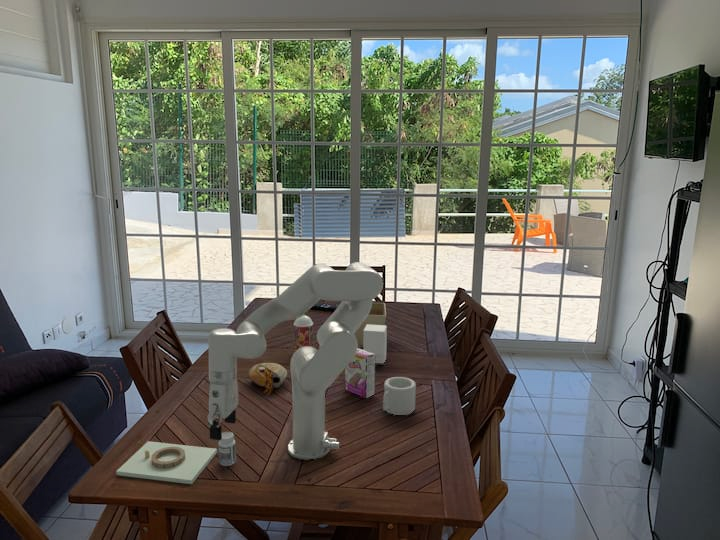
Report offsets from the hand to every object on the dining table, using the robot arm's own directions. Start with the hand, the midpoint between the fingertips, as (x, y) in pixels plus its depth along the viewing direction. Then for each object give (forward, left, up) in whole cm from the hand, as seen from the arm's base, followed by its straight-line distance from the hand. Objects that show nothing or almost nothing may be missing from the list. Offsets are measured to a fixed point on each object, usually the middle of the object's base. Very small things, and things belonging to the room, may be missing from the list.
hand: (223, 430), depth 155 cm
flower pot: (-23, -105, -10) cm, 108 cm away
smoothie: (+1, -87, -10) cm, 88 cm away
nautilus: (+5, -51, -10) cm, 52 cm away
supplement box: (-31, -84, -10) cm, 90 cm away
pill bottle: (-1, 0, -10) cm, 10 cm away
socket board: (+15, +4, -10) cm, 18 cm away
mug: (-45, -41, -10) cm, 62 cm away
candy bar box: (-30, -52, -10) cm, 61 cm away
